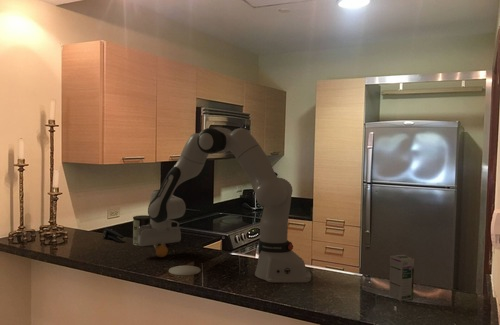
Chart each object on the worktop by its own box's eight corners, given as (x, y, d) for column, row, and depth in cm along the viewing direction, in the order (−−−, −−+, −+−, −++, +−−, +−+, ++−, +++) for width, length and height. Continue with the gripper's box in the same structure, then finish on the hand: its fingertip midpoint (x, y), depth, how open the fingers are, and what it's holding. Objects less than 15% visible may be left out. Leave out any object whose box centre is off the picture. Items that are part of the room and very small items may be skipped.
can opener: (100, 238, 222) (100, 228, 222) (112, 236, 227) (112, 226, 227) (115, 244, 209) (115, 233, 209) (128, 242, 214) (128, 231, 214)
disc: (203, 267, 172) (203, 266, 172) (196, 276, 159) (196, 275, 159) (174, 265, 174) (174, 264, 174) (164, 274, 161) (164, 273, 161)
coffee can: (156, 242, 215) (156, 215, 215) (147, 246, 205) (148, 218, 205) (138, 240, 217) (138, 214, 217) (128, 245, 207) (129, 217, 207)
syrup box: (400, 301, 138) (402, 259, 138) (388, 295, 144) (390, 255, 143) (413, 299, 141) (415, 257, 140) (400, 293, 146) (402, 253, 146)
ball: (169, 255, 189) (169, 244, 189) (165, 258, 183) (165, 246, 183) (157, 255, 189) (158, 243, 189) (153, 258, 184) (153, 246, 184)
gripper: (140, 226, 181) (140, 257, 182) (182, 222, 193) (182, 251, 193) (135, 224, 186) (135, 254, 187) (176, 220, 198) (176, 249, 198)
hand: (159, 253), depth 190 cm, fingers closed
